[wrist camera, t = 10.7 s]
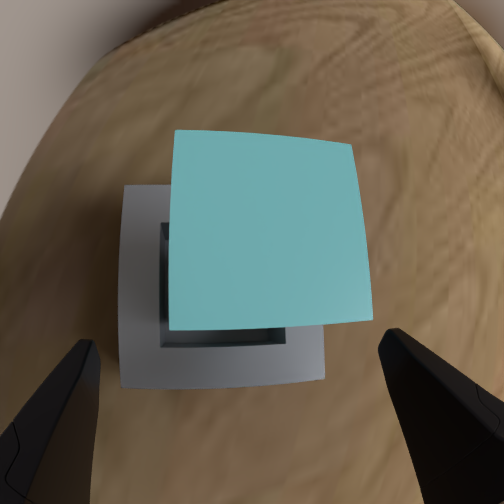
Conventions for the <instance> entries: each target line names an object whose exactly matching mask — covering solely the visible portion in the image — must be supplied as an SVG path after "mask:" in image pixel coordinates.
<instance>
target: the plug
mask: <svg viewBox="0 0 504 504" xmlns="http://www.w3.org/2000/svg"><path fill="white" fill-rule="evenodd" d="M366 320H373V312H372V297H371V284H370V272H369V262H368V252H367V243H366V235H365V227H364V219H363V212H362V205H361V198H360V192H359V186H358V180H357V174H356V168H355V162H354V157H353V152H352V146H351V144H344V143H337V142H330V141H323V140H315V139H307V138H298V137H289V136H279V135H268V134H256V133H242V132H225V131H200V130H175V138H174V151H173V165H172V181H171V199H170V224H169V330H231V329H258V328H278V327H294V326H309V325H322V324H334V323H345V322H356V321H366Z"/></svg>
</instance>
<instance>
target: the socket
mask: <svg viewBox="0 0 504 504" xmlns="http://www.w3.org/2000/svg"><path fill="white" fill-rule="evenodd" d="M170 199H171V185H125V186H124V196H123V206H122V218H121V232H120V248H119V272H118V340H119V364H120V380H121V388H134V389H215V388H236V387H251V386H264V385H275V384H286V383H295V382H304V381H312V380H319V379H325V364H324V335H323V324H322V325H309V326H294V327H278V328H258V329H231V330H169V224H170Z"/></svg>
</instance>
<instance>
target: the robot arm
mask: <svg viewBox="0 0 504 504" xmlns="http://www.w3.org/2000/svg"><path fill="white" fill-rule="evenodd" d="M378 354H379V357H380V361H381V365H382V369H383V372H384V376H385V380H386V384H387V388H388V391H389V394H390V397H391V400H392V403H393V406H394V408H395V411H396V414H397V417H398V420H399V423H400V426H401V429H402V432H403V435H404V438H405V441H406V444H407V447H408V450H409V453H410V456H411V459H412V463H413V466H414V469H415V472H416V476H417V479H418V482H419V486H420V488H421V489H420V490H421V493H422V497H423V501H424V504H504V402H503V401H501V400H500V399H498V398H496V397H495V396H493V395H492V394H490V393H489V392H488V391H486V390H485V389H483V388H482V387H481V386H479V385H478V384H477V383H475V382H474V381H472V380H471V379H470V378H468V377H467V376H465V375H464V374H463V373H461V372H460V371H459V370H457V369H456V368H454V367H453V366H452V365H450V364H449V363H447V362H446V361H445V360H443V359H442V358H440V357H439V356H438V355H436V354H435V353H434V352H432V351H431V350H429V349H428V348H426V347H425V346H424V345H422V344H421V343H419V342H418V341H417V340H415V339H414V338H412V337H411V336H410V335H408V334H407V333H405V332H404V331H402V330H401V329H399V328H392V329H388V330H387V331H386V332H385V334H384V336H383V338H382V340H381V342H380V344H379V346H378ZM99 383H100V357H99V354H98V351H97V348H96V345H95V342H94V341H93V340H89V339H80V340H79V341H78V342H77V343H76V344H75V345H74V346H73V347H72V349H71V350H70V351H69V352H68V353H67V354H66V356H65V357H64V358H63V359H62V360H61V361H60V363H59V364H58V365H57V366H56V367H55V368H54V370H53V371H52V372H51V373H50V374H49V376H48V377H47V378H46V379H45V380H44V382H43V383H42V384H41V385H40V387H39V388H38V389H37V390H36V391H35V393H34V394H33V395H32V396H31V398H30V399H29V400H28V401H27V403H26V404H25V405H24V406H23V408H22V409H21V410H20V411H19V413H18V414H17V415H16V417H15V418H14V419H13V422H11V423H10V424H9V426H8V427H7V428H6V429H5V431H4V432H3V433H2V434H1V436H0V504H90V486H91V472H92V461H93V451H94V442H95V434H96V426H97V418H98V408H99Z"/></svg>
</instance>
